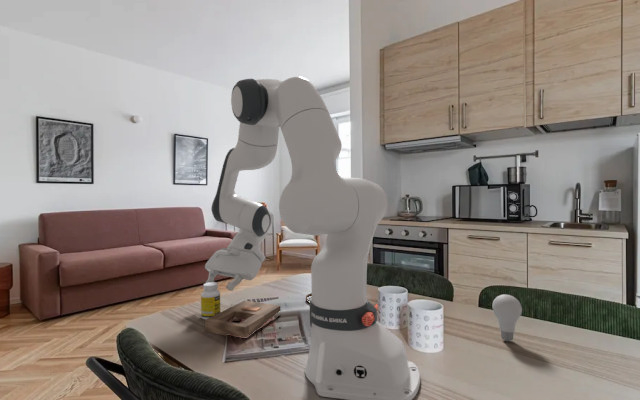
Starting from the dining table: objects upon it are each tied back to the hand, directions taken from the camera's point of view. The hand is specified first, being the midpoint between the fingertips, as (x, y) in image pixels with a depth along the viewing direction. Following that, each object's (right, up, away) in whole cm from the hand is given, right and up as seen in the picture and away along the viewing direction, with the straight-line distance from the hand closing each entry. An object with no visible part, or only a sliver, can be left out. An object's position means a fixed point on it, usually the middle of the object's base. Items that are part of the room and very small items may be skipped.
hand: (218, 287), depth 101 cm
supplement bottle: (-1, -8, -2) cm, 9 cm away
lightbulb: (+75, -7, -22) cm, 79 cm away
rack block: (+10, -8, -8) cm, 15 cm away
